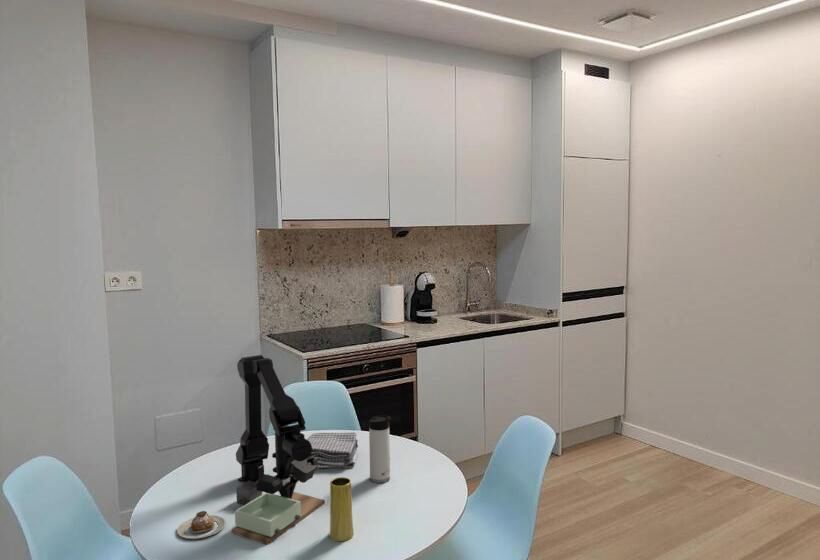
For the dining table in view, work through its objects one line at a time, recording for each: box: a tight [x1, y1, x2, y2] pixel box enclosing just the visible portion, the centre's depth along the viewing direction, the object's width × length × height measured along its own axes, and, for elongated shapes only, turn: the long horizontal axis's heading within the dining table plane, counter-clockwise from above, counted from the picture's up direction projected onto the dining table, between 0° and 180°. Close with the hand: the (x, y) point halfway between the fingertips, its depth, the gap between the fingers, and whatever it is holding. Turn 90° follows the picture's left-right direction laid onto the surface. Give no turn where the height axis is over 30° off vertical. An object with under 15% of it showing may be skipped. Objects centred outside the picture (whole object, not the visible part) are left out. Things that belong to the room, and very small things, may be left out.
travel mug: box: [368, 414, 391, 484], centre depth 180 cm, size 6×7×20 cm
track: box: [231, 491, 326, 545], centre depth 157 cm, size 12×24×1 cm, turn 152°
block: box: [235, 481, 263, 507], centre depth 166 cm, size 5×5×5 cm
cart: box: [234, 492, 301, 537], centre depth 153 cm, size 14×12×4 cm
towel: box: [306, 432, 359, 469], centre depth 195 cm, size 15×18×8 cm
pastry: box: [176, 510, 226, 541], centre depth 152 cm, size 12×12×5 cm
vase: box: [329, 476, 355, 542], centre depth 147 cm, size 6×6×14 cm
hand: (287, 503), depth 160 cm, fingers closed
